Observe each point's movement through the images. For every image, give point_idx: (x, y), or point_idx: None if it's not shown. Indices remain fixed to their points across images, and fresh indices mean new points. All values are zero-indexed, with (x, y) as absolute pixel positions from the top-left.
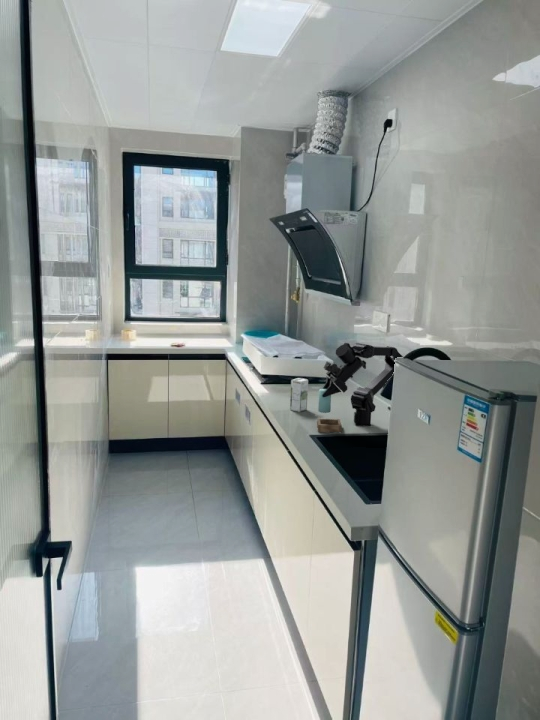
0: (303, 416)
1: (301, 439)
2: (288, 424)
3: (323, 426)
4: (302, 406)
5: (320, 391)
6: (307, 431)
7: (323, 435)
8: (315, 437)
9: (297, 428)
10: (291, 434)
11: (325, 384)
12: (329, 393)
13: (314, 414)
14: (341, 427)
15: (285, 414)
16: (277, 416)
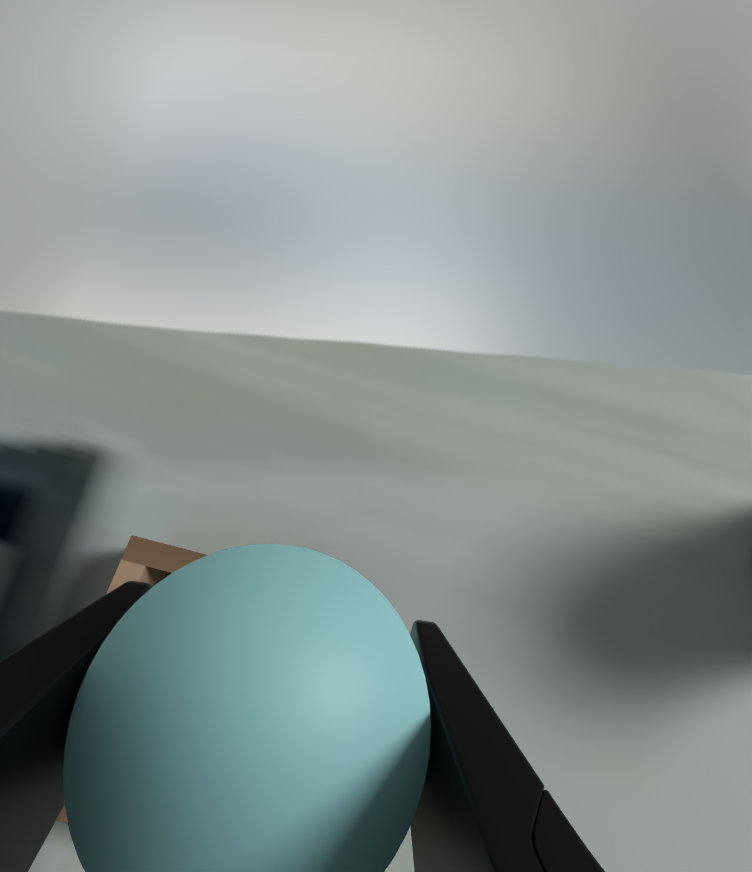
0: (620, 556)
1: (20, 365)
2: (406, 381)
3: (114, 587)
4: None
5: (207, 557)
6: (200, 465)
7: (49, 564)
8: (24, 479)
9: (295, 414)
10: (162, 335)
11: (515, 857)
12: None
13: (692, 679)
14: None
15: (665, 431)
16: (608, 364)
